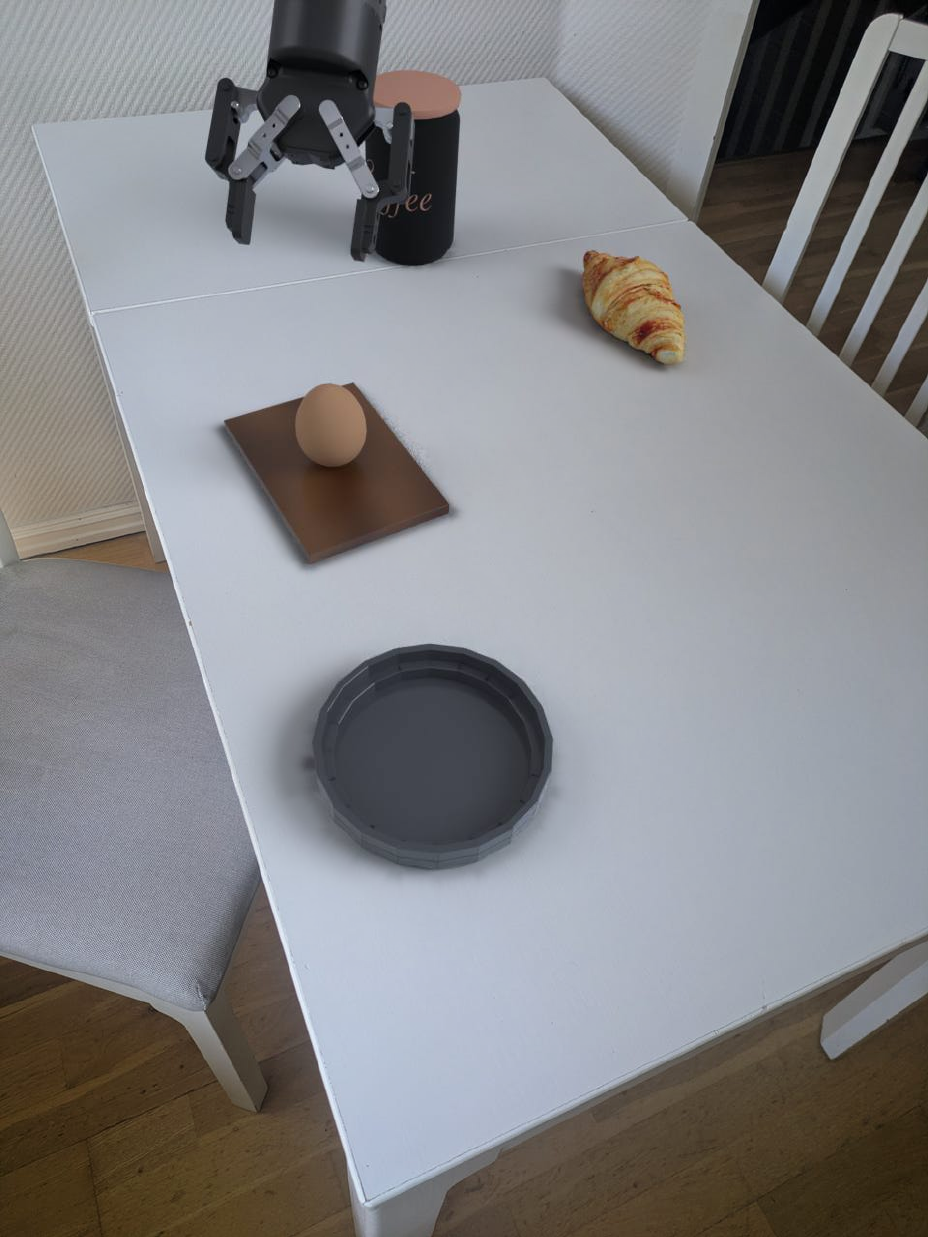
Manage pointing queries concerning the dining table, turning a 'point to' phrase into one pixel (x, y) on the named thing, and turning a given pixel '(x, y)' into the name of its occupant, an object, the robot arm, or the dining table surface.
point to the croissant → (635, 304)
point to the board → (335, 481)
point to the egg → (330, 425)
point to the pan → (432, 755)
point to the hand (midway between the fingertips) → (299, 249)
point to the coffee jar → (419, 167)
